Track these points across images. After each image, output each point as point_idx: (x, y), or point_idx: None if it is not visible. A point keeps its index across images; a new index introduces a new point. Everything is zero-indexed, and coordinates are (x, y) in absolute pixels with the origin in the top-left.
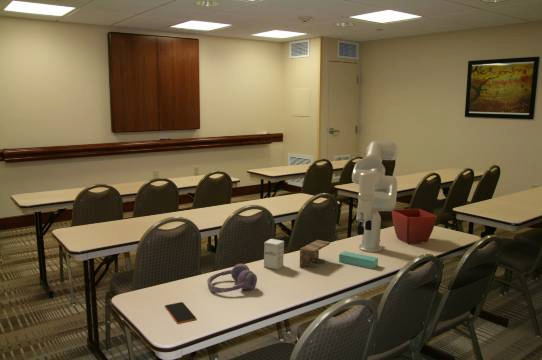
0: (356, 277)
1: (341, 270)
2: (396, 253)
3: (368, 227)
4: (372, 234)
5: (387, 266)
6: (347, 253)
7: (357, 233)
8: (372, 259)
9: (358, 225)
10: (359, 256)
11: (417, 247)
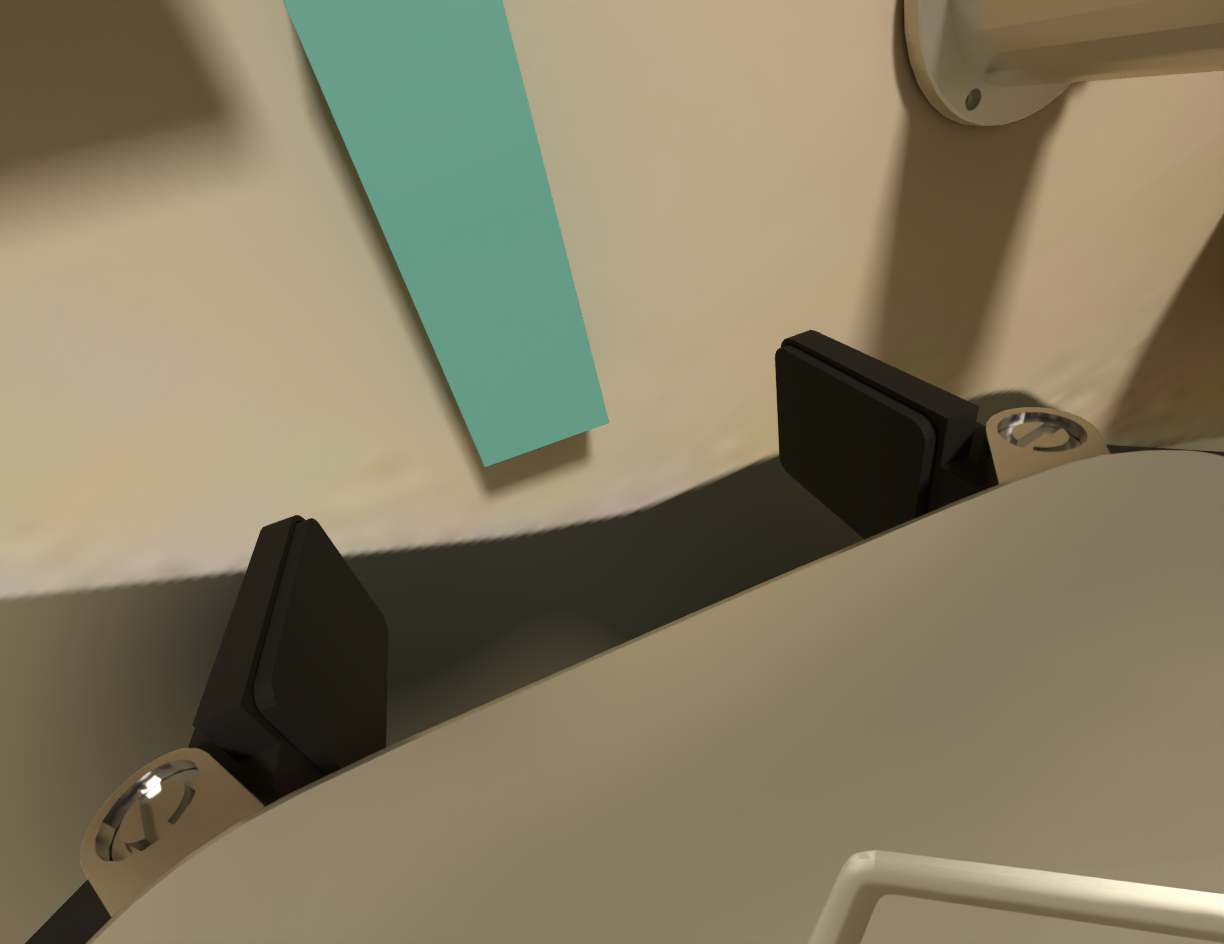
0: (133, 498)
1: (71, 253)
2: (976, 275)
3: (817, 449)
4: (1168, 4)
5: (634, 446)
6: (418, 26)
7: (270, 524)
8: (518, 427)
9: (133, 837)
10: (473, 263)
11: (1171, 288)
